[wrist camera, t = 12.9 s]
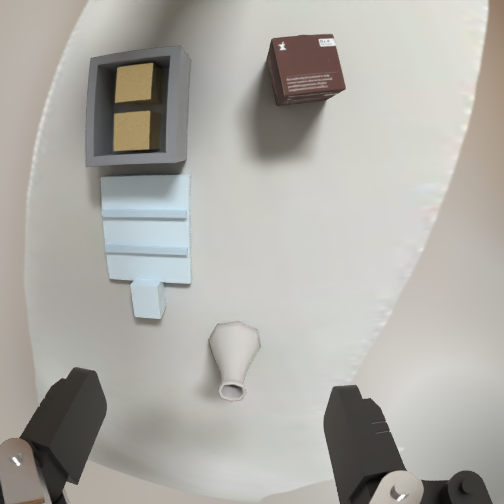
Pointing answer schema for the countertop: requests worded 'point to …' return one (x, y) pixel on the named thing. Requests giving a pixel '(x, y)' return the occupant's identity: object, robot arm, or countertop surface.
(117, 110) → the tub
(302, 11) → the countertop surface
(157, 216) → the lid
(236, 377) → the flask
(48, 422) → the robot arm
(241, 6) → the countertop surface
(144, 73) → the brass block
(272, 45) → the box
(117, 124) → the brass block
